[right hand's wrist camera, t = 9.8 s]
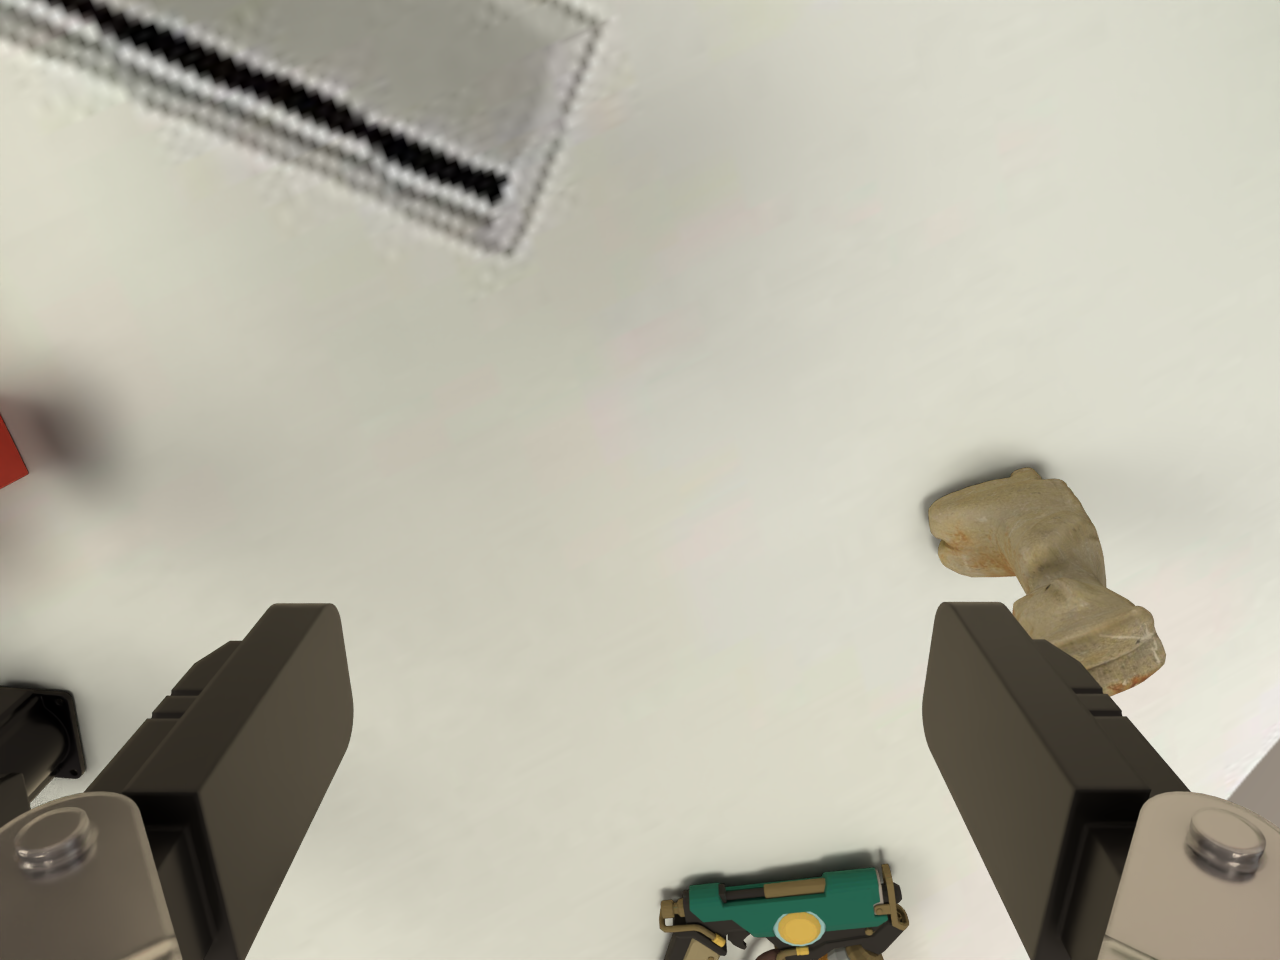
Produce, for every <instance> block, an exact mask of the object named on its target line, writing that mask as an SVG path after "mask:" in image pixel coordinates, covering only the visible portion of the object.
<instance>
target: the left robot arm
mask: <svg viewBox="0 0 1280 960" xmlns="http://www.w3.org/2000/svg"><path fill="white" fill-rule="evenodd" d="M61 699H62V700H63V701H62V700H61ZM75 770H76V771H75ZM84 772H85V764H84V759H83V754H82V748H81V743H80V738H79V732H78V727H77V722H76V716H75V711H74V706H73V700H72V697H71V696H70V695H69V694H68V693H66V692H62V691H48V690H35V689H22V688H9V687H0V828H1V827H3V826H4V825H5V824H7V823H8V822H10V821H11V820H13V819H15V818H16V817H18V816H20V815H21V814H23V813H25V812H27V811H29V810H31V808H30V803H31V802H32V800H33V799H34V798H35V797H36V796H37V795H38V794H39V793H40V792H41V791H42V790H43V789H44V788H45V786H46V785H47V784H48V783H49V782H50V781H51V780H52V779H53V778H54V777H59V778H73V779H77V778H80V777H81V776H82V775H83V773H84Z"/></svg>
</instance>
